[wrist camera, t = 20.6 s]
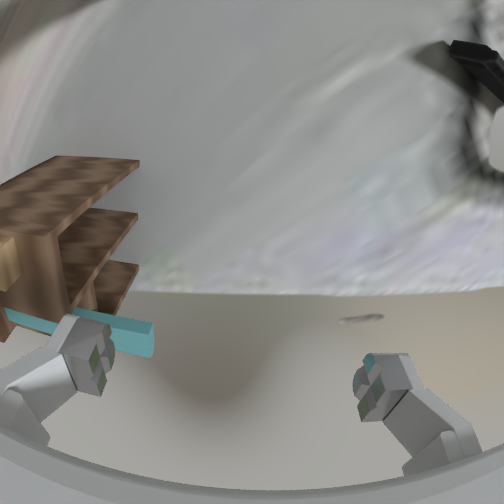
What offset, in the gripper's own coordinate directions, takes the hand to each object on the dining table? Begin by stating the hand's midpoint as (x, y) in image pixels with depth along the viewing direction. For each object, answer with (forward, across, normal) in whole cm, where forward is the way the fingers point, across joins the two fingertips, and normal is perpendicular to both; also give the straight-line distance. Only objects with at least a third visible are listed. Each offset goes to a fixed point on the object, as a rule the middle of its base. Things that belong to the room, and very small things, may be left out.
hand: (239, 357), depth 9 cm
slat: (+19, +19, +20) cm, 34 cm away
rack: (+39, +24, +15) cm, 48 cm away
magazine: (+39, -44, -22) cm, 63 cm away
